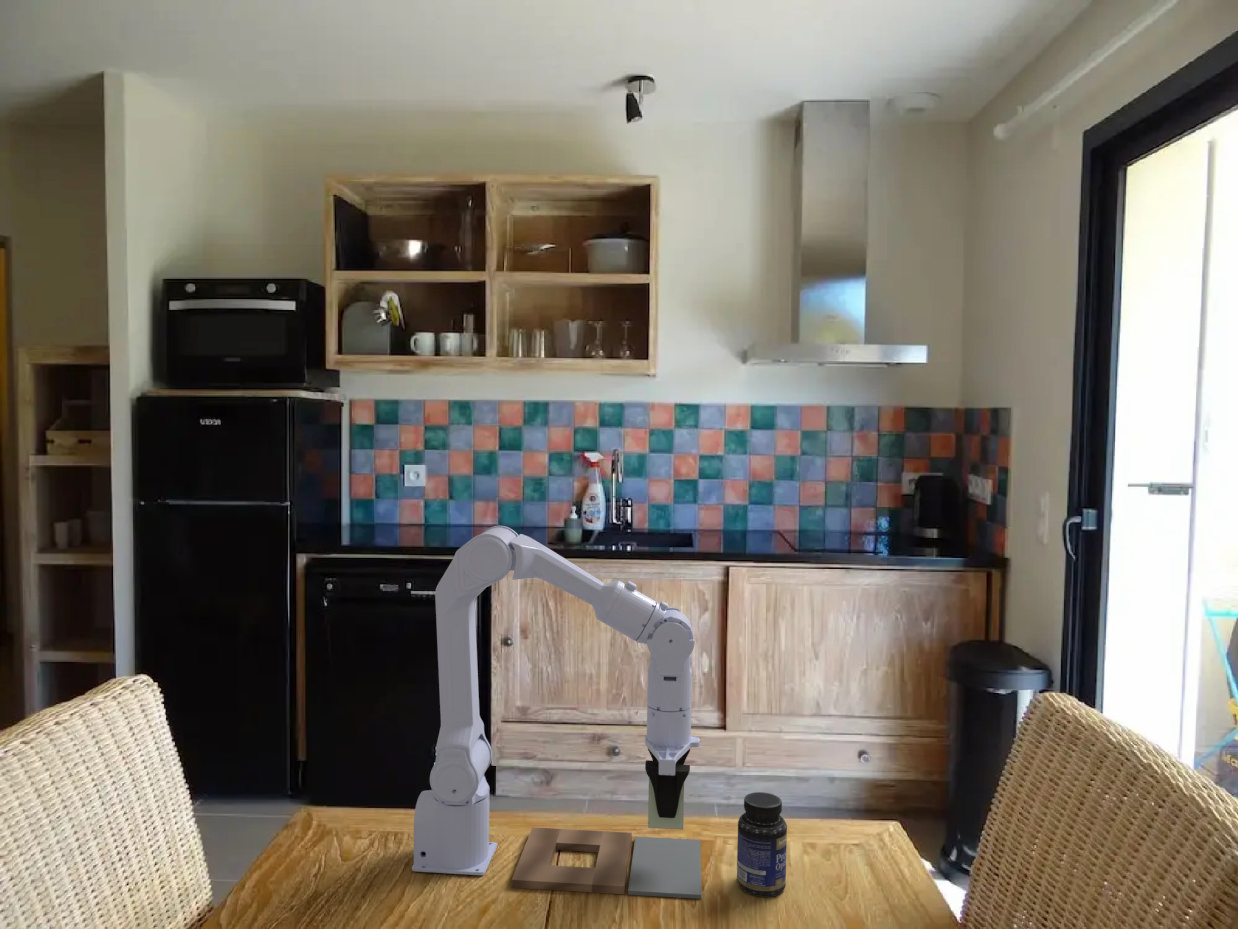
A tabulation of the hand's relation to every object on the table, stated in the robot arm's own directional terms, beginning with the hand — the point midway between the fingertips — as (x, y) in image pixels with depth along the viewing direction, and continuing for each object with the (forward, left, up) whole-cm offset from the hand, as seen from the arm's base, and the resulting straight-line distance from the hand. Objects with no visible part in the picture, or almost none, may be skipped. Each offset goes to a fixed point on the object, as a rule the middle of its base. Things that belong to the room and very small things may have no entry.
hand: (667, 808), depth 112 cm
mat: (0, 0, -8) cm, 8 cm away
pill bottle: (+12, -3, -8) cm, 15 cm away
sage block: (0, 0, -2) cm, 2 cm away
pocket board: (-12, 0, -8) cm, 14 cm away
